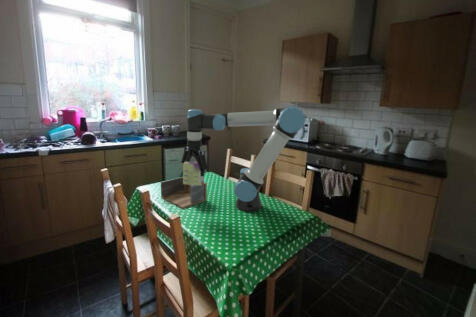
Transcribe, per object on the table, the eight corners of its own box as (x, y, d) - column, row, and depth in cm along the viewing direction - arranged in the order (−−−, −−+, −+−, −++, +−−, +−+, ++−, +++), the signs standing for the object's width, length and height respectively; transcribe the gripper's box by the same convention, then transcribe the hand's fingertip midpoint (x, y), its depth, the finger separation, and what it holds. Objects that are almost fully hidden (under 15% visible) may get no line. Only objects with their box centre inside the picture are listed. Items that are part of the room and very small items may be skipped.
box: (204, 182, 142) (204, 162, 139) (201, 186, 136) (202, 164, 133) (185, 181, 142) (185, 160, 140) (182, 184, 137) (183, 163, 134)
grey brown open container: (206, 200, 157) (206, 181, 154) (182, 208, 143) (182, 188, 141) (185, 190, 171) (184, 173, 168) (161, 197, 158) (160, 178, 155)
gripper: (215, 142, 129) (213, 182, 134) (185, 135, 144) (185, 172, 149) (204, 143, 123) (203, 186, 128) (174, 136, 138) (174, 174, 143)
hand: (193, 178), depth 139 cm, fingers closed on box, 11 cm apart
